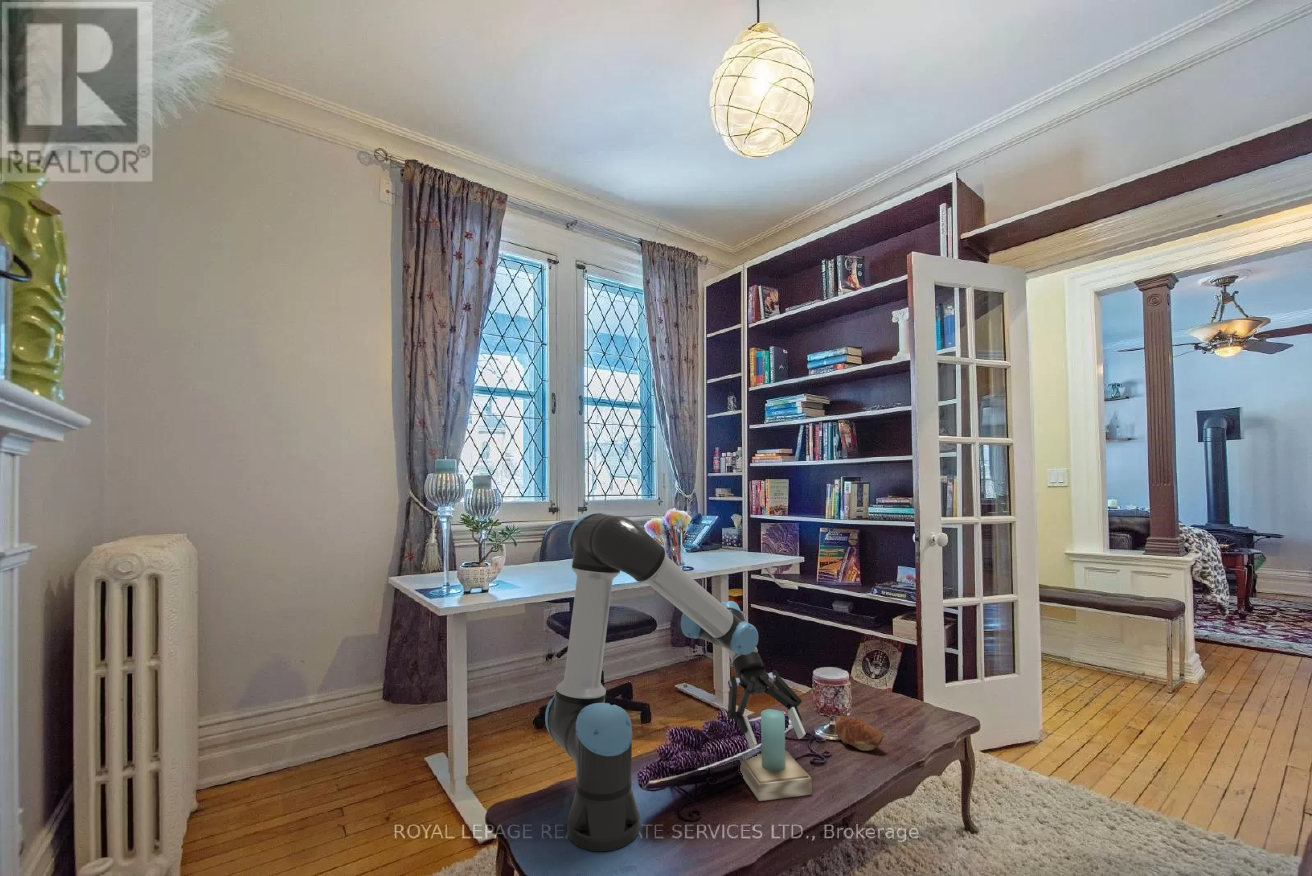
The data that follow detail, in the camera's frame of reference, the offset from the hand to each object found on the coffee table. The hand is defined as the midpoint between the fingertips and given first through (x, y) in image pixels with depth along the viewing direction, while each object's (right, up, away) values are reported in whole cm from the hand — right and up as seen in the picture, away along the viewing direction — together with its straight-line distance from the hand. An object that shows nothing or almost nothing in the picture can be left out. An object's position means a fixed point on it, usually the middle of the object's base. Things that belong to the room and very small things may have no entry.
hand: (778, 741), depth 135 cm
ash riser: (-1, -11, +1) cm, 11 cm away
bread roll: (+26, -12, +20) cm, 35 cm away
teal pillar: (-1, -7, +2) cm, 7 cm away
